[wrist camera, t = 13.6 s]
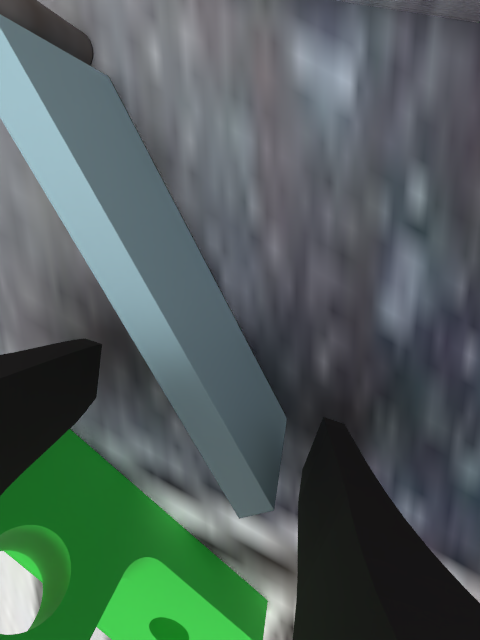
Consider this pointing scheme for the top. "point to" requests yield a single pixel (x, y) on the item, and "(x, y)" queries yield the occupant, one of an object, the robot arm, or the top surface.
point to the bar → (143, 260)
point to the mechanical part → (116, 558)
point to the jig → (48, 27)
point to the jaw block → (430, 7)
